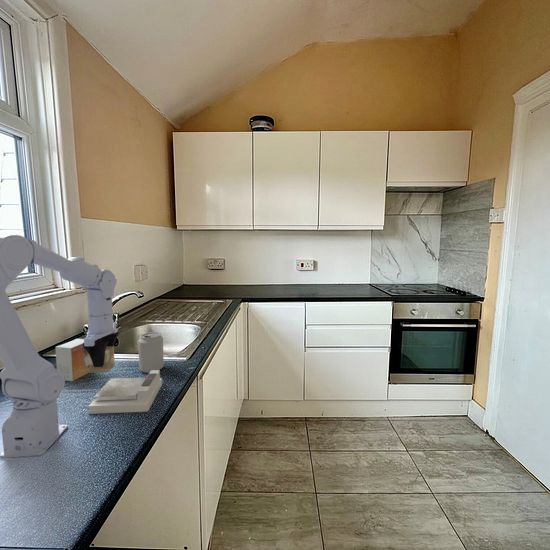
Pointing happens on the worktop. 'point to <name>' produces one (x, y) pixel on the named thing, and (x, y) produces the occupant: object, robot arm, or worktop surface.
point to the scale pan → (120, 389)
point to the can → (150, 352)
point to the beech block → (107, 361)
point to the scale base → (139, 404)
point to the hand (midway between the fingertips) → (102, 362)
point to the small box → (72, 360)
